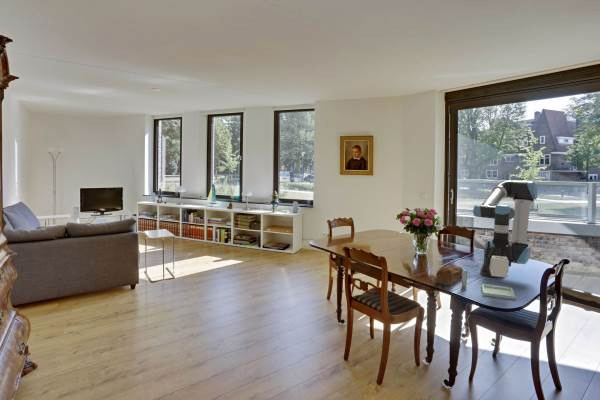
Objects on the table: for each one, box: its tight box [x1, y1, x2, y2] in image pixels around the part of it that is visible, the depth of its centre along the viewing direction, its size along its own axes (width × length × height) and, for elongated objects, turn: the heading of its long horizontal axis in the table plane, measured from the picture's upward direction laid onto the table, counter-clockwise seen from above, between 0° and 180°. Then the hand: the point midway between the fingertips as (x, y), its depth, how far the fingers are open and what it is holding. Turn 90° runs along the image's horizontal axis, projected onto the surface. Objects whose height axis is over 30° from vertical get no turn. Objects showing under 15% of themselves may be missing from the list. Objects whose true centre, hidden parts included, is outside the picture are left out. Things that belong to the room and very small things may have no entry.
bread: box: [435, 264, 464, 287], centre depth 242 cm, size 19×11×10 cm, turn 137°
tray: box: [481, 283, 516, 301], centre depth 220 cm, size 16×16×2 cm
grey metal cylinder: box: [460, 269, 468, 291], centre depth 227 cm, size 4×4×12 cm
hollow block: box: [490, 256, 509, 278], centre depth 218 cm, size 8×8×10 cm
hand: (498, 270), depth 219 cm, fingers closed on hollow block, 8 cm apart
